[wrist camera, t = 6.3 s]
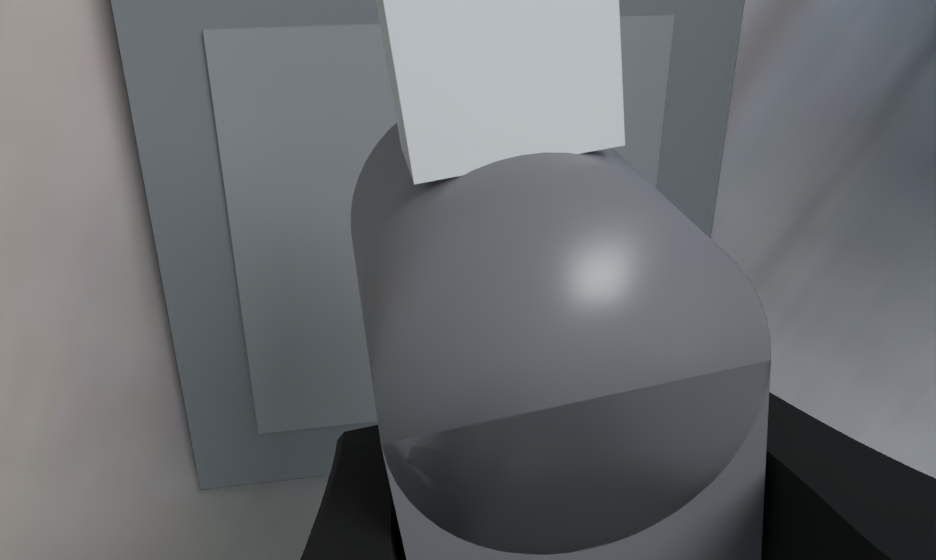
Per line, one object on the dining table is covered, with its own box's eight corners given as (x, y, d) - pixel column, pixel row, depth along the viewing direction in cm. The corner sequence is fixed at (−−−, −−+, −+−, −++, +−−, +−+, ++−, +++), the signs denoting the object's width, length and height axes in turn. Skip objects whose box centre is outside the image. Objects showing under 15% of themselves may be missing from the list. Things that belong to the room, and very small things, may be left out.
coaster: (740, -71, 17) (757, -68, 16) (673, 420, 22) (684, 436, 22) (106, -62, 15) (98, -58, 14) (202, 473, 20) (199, 492, 20)
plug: (284, -81, 10) (273, -37, 6) (599, -130, 10) (794, -118, 6) (427, 594, 15) (473, 862, 11) (633, 546, 15) (749, 788, 11)
